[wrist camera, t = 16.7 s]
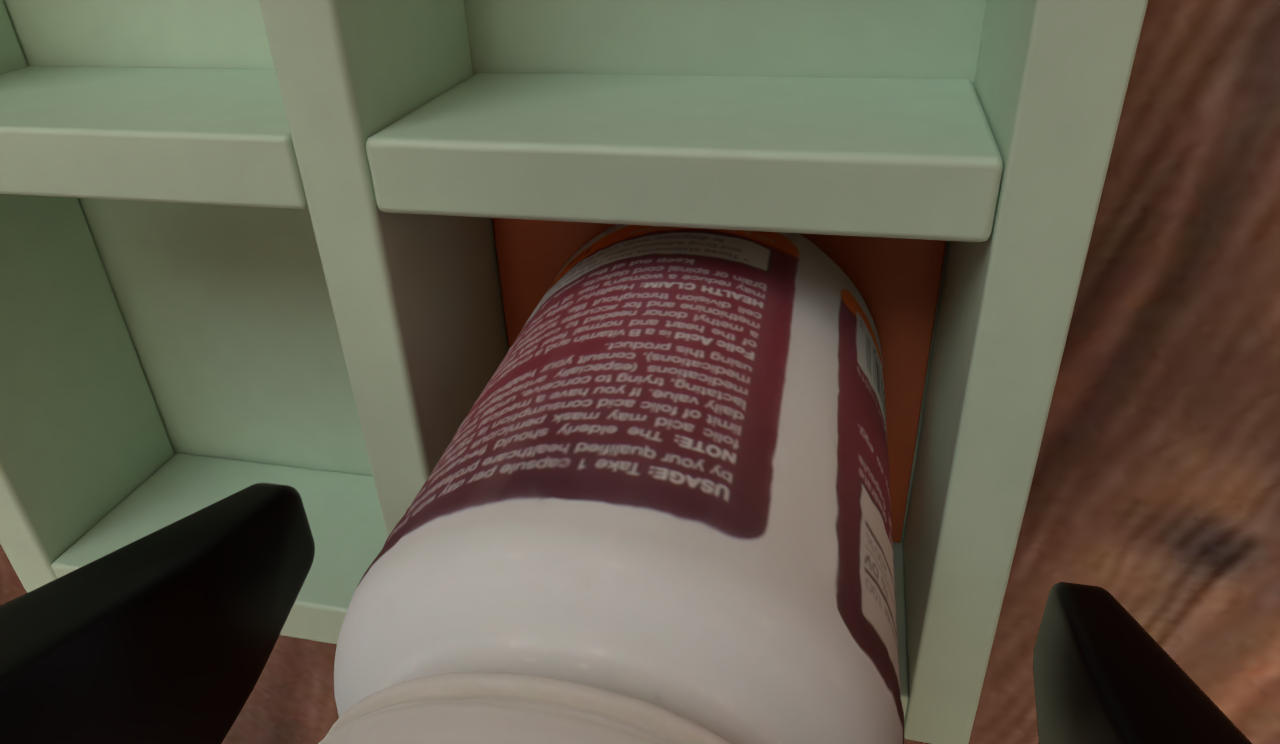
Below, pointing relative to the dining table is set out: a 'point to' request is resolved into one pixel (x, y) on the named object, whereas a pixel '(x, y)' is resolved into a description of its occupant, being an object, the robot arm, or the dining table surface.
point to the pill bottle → (649, 519)
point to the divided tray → (522, 248)
